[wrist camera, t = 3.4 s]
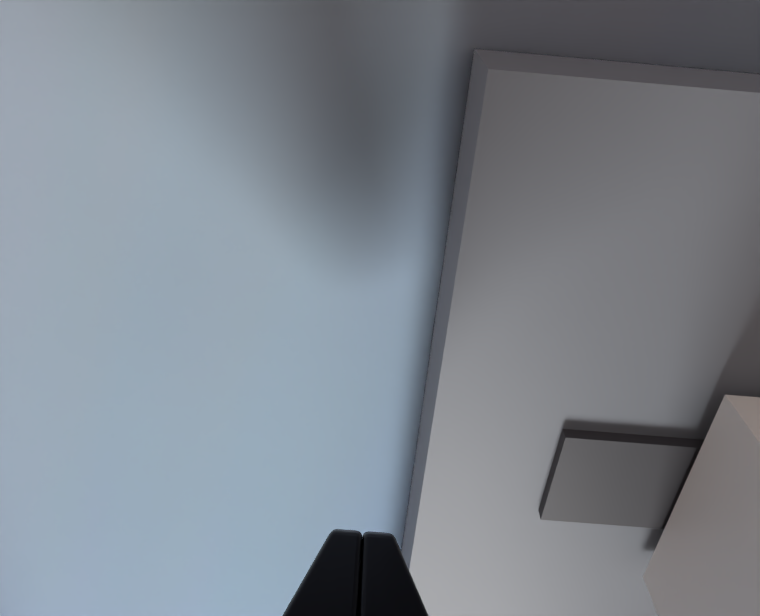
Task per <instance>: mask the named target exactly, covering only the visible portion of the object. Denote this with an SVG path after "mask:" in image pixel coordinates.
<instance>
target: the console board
mask: <svg viewBox="0 0 760 616" xmlns="http://www.w3.org/2000/svg"><path fill="white" fill-rule="evenodd" d="M724 395H736V396H749V397H760V74H752V73H741V72H730V71H718V70H707V69H696V68H685V67H673V66H662V65H651V64H640V63H628V62H617V61H606V60H594V59H583V58H572V57H561V56H549V55H538V54H527V53H516V52H504V51H493V50H482V49H474V54H473V61H472V68H471V75H470V82H469V89H468V96H467V103H466V110H465V117H464V123H463V130H462V137H461V144H460V151H459V158H458V165H457V172H456V179H455V186H454V192H453V199H452V206H451V213H450V220H449V227H448V234H447V241H446V248H445V255H444V261H443V268H442V275H441V282H440V289H439V296H438V303H437V310H436V317H435V324H434V331H433V337H432V344H431V351H430V358H429V365H428V372H427V379H426V386H425V393H424V400H423V406H422V413H421V420H420V427H419V434H418V441H417V448H416V455H415V462H414V469H413V475H412V482H411V489H410V496H409V503H408V510H407V517H406V524H405V531H404V538H403V544H402V551H401V553H402V555H403V557H404V560H405V562H406V564H407V567H408V569H409V571H410V574H411V576H412V578H413V581H414V583H415V585H416V588H417V590H418V592H419V595H420V597H421V599H422V602H423V604H424V606H425V609H426V611H427V613H428V616H658V614H657V612H656V609H655V607H654V604H653V601H652V599H651V596H650V594H649V591H648V588H647V586H646V583H645V581H644V578H643V575H644V573H645V571H646V569H647V566H648V564H649V562H650V560H651V557H652V555H653V553H654V551H655V549H656V546H657V544H658V542H659V540H660V537H661V535H662V533H663V531H664V529H665V526H666V524H667V522H668V520H669V517H670V515H671V513H672V511H673V509H674V506H675V504H676V502H677V500H678V497H679V495H680V493H681V491H682V489H683V486H684V484H685V482H686V480H687V478H688V475H689V473H690V471H691V469H692V466H693V464H694V462H695V460H696V458H697V455H698V453H699V451H700V449H701V446H702V444H703V442H704V440H705V438H706V435H707V433H708V431H709V429H710V426H711V424H712V422H713V420H714V418H715V415H716V413H717V411H718V409H719V406H720V404H721V402H722V400H723V398H724Z"/></svg>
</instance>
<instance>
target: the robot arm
mask: <svg viewBox="0 0 760 616" xmlns="http://www.w3.org/2000/svg"><path fill="white" fill-rule="evenodd" d="M283 616H428V613H427V611H426V609H425V606H424V604H423V602H422V599H421V597H420V595H419V592H418V590H417V588H416V585H415V583H414V581H413V578H412V576H411V574H410V571H409V569H408V567H407V564H406V562H405V560H404V557H403V555H402V553H401V550H400V548H399V546H398V543H397V541H396V539H395V537H394V536H393V535H392V534H390V533H382V532H366V533H364V535H363V537H362V534H361V533H360V532H359V531H355V530H341V529H335V530H333V531H332V532H331V533H330V534H329V536H328V537H327V539H326V541H325V543H324V544H323V546H322V548H321V550H320V551H319V553H318V555H317V556H316V558H315V560H314V562H313V563H312V565H311V567H310V569H309V570H308V572H307V574H306V576H305V577H304V579H303V581H302V583H301V584H300V586H299V588H298V590H297V591H296V593H295V595H294V597H293V598H292V600H291V602H290V604H289V605H288V607H287V609H286V611H285V612H284V614H283Z"/></svg>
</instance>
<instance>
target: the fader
mask: <svg viewBox="0 0 760 616" xmlns="http://www.w3.org/2000/svg"><path fill="white" fill-rule="evenodd" d="M643 578H644V581H645V583H646V586H647V588H648V591H649V594H650V596H651V599H652V601H653V604H654V607H655V609H656V612H657V614H658V616H760V397H749V396H736V395H724V398H723V400H722V402H721V404H720V406H719V409H718V411H717V413H716V415H715V418H714V420H713V422H712V424H711V426H710V429H709V431H708V433H707V435H706V438H705V440H704V442H703V444H702V446H701V449H700V451H699V453H698V455H697V458H696V460H695V462H694V464H693V466H692V469H691V471H690V473H689V475H688V478H687V480H686V482H685V484H684V486H683V489H682V491H681V493H680V495H679V497H678V500H677V502H676V504H675V506H674V509H673V511H672V513H671V515H670V517H669V520H668V522H667V524H666V526H665V529H664V531H663V533H662V535H661V537H660V540H659V542H658V544H657V546H656V549H655V551H654V553H653V555H652V557H651V560H650V562H649V564H648V566H647V569H646V571H645V573H644V575H643Z"/></svg>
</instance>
